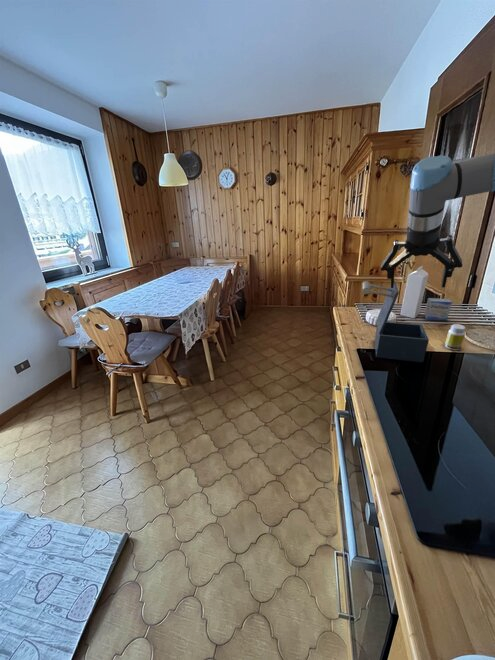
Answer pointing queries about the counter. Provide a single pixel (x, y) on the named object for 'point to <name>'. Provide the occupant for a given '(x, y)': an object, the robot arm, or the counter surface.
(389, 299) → the compartment lid
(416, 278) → the milk
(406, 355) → the compartment
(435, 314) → the medicine box
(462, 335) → the supplement bottle
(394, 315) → the mooncake
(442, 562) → the counter surface
